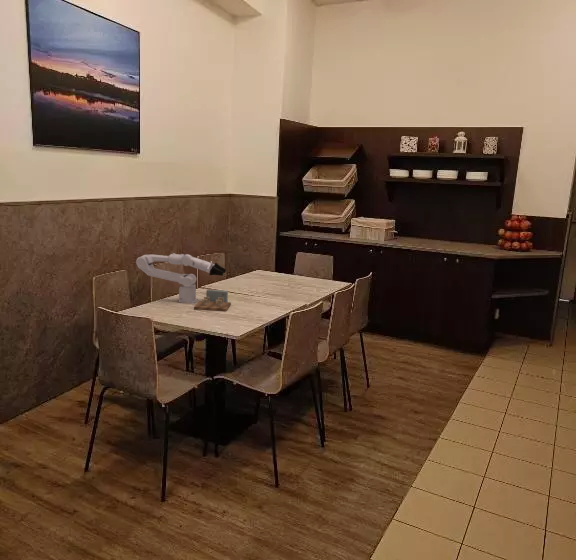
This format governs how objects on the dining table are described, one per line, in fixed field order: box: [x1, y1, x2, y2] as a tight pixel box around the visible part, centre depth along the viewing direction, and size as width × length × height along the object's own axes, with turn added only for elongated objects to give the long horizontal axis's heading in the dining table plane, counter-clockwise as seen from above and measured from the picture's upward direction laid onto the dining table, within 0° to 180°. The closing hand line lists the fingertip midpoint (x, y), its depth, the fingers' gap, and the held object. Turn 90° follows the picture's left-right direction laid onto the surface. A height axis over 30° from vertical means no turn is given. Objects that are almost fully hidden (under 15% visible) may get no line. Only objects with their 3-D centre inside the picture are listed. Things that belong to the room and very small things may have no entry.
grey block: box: [205, 289, 229, 302], centre depth 294 cm, size 12×4×7 cm, turn 86°
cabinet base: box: [193, 296, 232, 312], centre depth 283 cm, size 18×14×5 cm
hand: (224, 272), depth 290 cm, fingers open, 7 cm apart
